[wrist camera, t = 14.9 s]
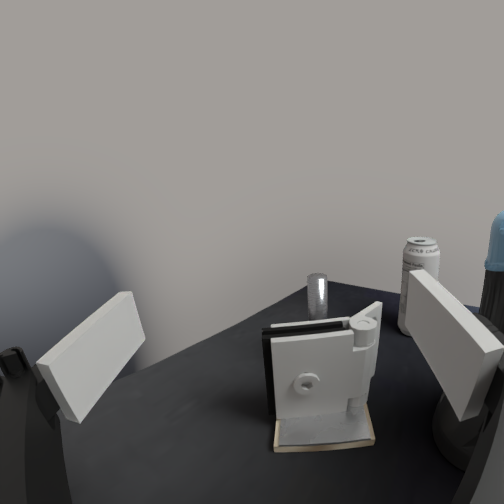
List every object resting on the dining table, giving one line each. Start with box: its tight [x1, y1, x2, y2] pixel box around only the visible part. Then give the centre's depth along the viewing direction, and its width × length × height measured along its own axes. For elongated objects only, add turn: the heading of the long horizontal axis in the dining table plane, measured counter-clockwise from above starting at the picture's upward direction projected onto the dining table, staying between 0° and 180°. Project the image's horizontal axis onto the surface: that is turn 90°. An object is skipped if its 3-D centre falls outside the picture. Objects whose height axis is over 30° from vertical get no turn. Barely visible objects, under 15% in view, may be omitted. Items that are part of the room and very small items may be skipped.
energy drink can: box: [398, 237, 440, 336], centre depth 41 cm, size 6×6×15 cm
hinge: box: [262, 301, 382, 419], centre depth 28 cm, size 14×5×10 cm, turn 101°
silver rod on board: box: [279, 273, 371, 447], centre depth 30 cm, size 9×17×12 cm, turn 173°
